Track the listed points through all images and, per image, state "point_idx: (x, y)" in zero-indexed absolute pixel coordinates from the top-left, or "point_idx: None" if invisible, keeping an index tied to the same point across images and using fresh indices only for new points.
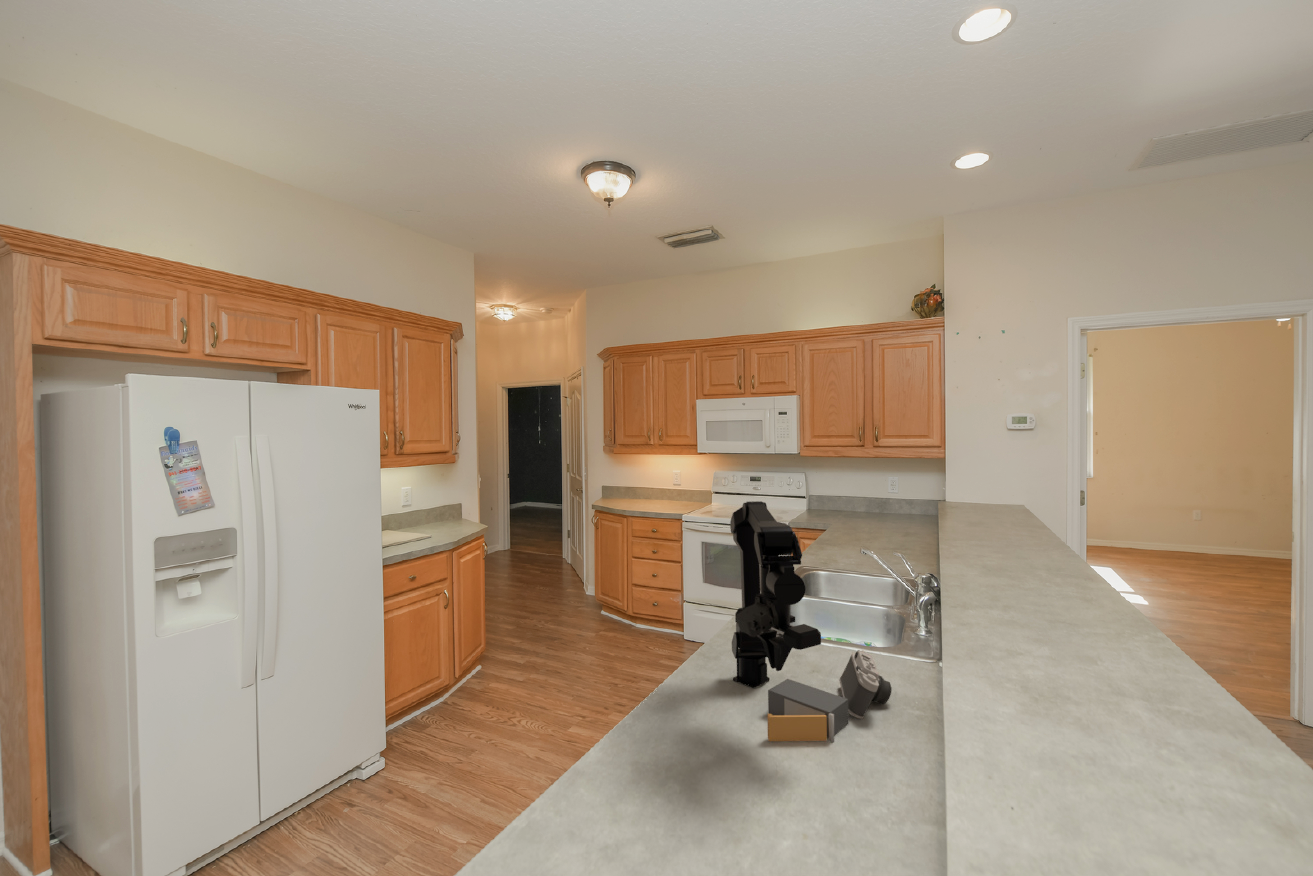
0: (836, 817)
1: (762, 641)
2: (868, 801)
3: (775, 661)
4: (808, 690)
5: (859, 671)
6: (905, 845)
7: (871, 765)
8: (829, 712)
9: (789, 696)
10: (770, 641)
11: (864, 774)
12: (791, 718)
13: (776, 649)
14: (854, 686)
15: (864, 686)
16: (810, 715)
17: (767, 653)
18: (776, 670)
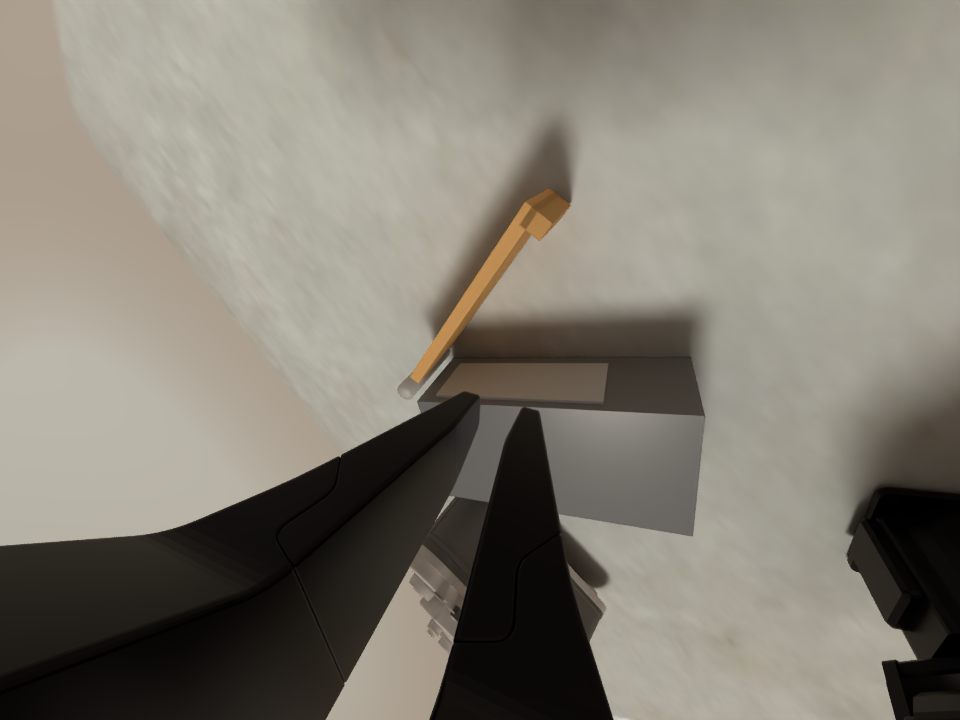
0: (186, 45)
1: (586, 707)
2: (229, 188)
3: (430, 433)
4: (565, 491)
5: (443, 603)
6: (112, 120)
7: (330, 322)
8: (419, 401)
9: (584, 418)
10: (70, 644)
11: (309, 278)
12: (470, 285)
13: (270, 525)
14: (474, 555)
15: (424, 550)
16: (439, 348)
17: (527, 502)
18: (473, 393)
